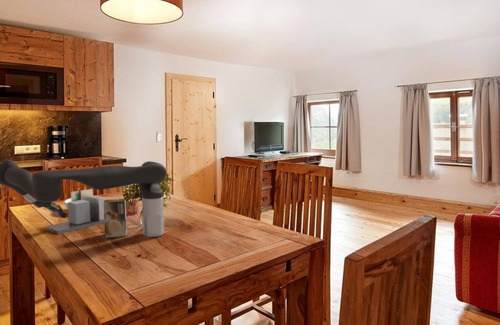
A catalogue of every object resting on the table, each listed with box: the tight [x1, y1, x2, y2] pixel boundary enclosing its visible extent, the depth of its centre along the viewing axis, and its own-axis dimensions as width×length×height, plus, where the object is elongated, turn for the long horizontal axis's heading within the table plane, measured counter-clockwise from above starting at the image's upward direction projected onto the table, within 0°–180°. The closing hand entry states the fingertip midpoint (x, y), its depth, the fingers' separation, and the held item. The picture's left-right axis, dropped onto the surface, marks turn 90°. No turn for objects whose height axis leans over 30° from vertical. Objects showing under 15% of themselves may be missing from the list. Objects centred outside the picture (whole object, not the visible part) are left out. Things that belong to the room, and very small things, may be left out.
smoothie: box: [126, 200, 140, 216], centre depth 195 cm, size 8×8×20 cm
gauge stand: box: [44, 188, 105, 235], centre depth 171 cm, size 24×12×16 cm, turn 145°
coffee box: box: [103, 198, 128, 239], centre depth 157 cm, size 9×6×16 cm
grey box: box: [67, 189, 90, 225], centre depth 172 cm, size 7×8×15 cm
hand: (65, 216), depth 167 cm, fingers closed
